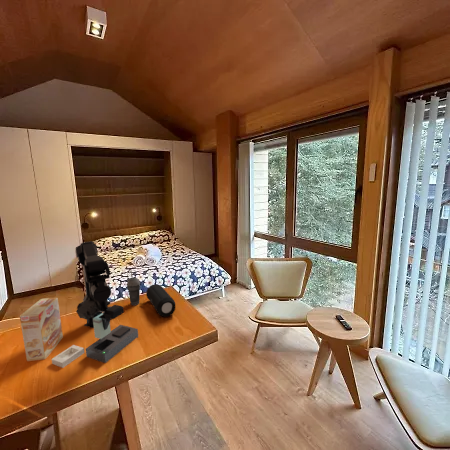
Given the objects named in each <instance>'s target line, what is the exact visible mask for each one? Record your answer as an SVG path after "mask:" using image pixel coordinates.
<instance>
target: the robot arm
mask: <svg viewBox="0 0 450 450" xmlns="http://www.w3.org/2000/svg"><path fill="white" fill-rule="evenodd" d="M97 246H98V245H97V244H95V242H94V241H92V240H91V241H90V240H89V241H84V242H83V241H81V243H80V244H79V245H78V246H76V247H75V256H76V258H77V259H78V261H79V263H80V264H81V265H82V269H83V270H82V271H83V277H84V286H85V295H84V297H83V301H82V302H79V303H78V305H77V306H76V314H77V315H78V317H79V319H84V320H85V321H86V323H84V327H88V328H92V329H94V325H93V318H95V317H96V316H98V315H100V314H101V313H103V315H101V316H100V317H99V318H101V319H102V322H103V327H104V330H106V329H107V328H108V325H109V323H110V324H111V321H112V320H114V319H116V318H117V317H119V316H121V315H122V314H123V313H125V312H124V311H125V310H124V306H121V305H119V304H113V305H112V306H110V305H111V301H110V300H109V301H108V299H109V298H110V297H111V295H112V290H111V288H110V286H109V285H108V283H107V282H106V280H108V279H110V276H111V271H110V266H109V263H108V262H107V261H106V260H105V259H104V258H103V257H102V256H99V255H98V247H97Z"/></svg>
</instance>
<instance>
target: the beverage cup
mask: <svg viewBox="0 0 450 450" xmlns="http://www.w3.org/2000/svg"><path fill="white" fill-rule="evenodd" d="M130 276H131V277H130V278H128V280H127V283H126V288H127V291H128V295H129V300H130V305H131V306H138V305H139V304H140V299H141V298H140V294H141V293H140V291H141V289H140V288H141V281H140V280H139V278H138V277H133V273H132V270H130Z"/></svg>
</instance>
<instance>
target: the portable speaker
mask: <svg viewBox="0 0 450 450" xmlns="http://www.w3.org/2000/svg"><path fill="white" fill-rule="evenodd" d="M146 297H147V299H148V301H149V302H150V303H151V305H152V306H153V308H154V309H155V310H156V312H157V314H158V315H159V316H161V317H165V318H166V317H167V318H168V317H169V316H171V315H173V314H174V313H175V311H176V302H175V299H174V298H173V296H171V295H170V294H169V293H168V292H167V291H166V289H164V287H163V286H162V285H160V284H157V283H156V284H151V285H150V286H149V287H148V288H147V290H146Z"/></svg>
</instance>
